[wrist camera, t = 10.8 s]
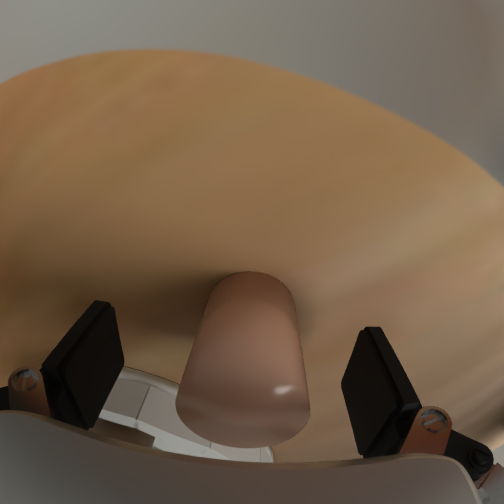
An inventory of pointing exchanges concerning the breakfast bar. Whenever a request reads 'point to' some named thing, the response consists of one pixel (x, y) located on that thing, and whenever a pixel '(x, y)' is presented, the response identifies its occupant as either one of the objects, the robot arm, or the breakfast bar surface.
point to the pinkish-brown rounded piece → (246, 366)
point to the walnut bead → (122, 433)
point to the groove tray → (165, 418)
